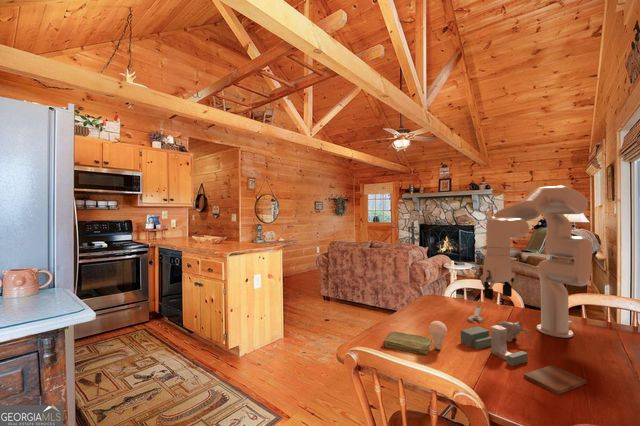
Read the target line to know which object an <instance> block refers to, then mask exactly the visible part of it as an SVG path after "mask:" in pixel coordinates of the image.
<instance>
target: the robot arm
mask: <svg viewBox="0 0 640 426" xmlns="http://www.w3.org/2000/svg"><path fill="white" fill-rule="evenodd" d="M588 206H589V201H588V199H587V197H586V195H584V194H583V193H581V192H580V191H578V190H576V189H574V188H572V187H569V186H566V185H556V186H555V185H553V186H541V187H537V188H535V189H533V190H532V191H531V192H530V193H529V194H527V196H526V197H525V198H523V199H522V200H521V201H520V202H517V203H515V204H512V205H510V206H507V207H503V208H502V209H499V210H497V211H496V212H495V213H494V214H492V216H490V217H489V219H488V220H487V221H486V224H485V230H486V254H485V256H484V261H483V267H482V274H481V275H480V277H479V280H480V283H481V285H482V288H484V293H483V294H484V295H483V296H484V299H487V300H491V301H493V300H494V288H493V286H494V285H495V284H500V283H503V284H502V295H503V296H505V297H508V298H511V297H512V295H513V294H512V291H513V289H512V287H513V283H514V281H515V277H516V273H515V272H513V269H512V267H513V266H512V262H511V261H512V260H511V259H512V258H511V238H516V239H519V238H523V237H525V236H527V234H528V233H529V231H530V227H529V226H530V225H529V223H528V221H532V220H535V219H537V218H539V217H540V216H541V215H543V217H544V220H545V222H546V236H545V244H544V250H545V251H544V252H545V253H546V254H547V255H548V256H550V257H557V258H564V259H572V260H573V261H567V260H560V259H553V258H552V259H550V258H548V259H543V260H541V261H540V262H539V263H538V265H537V272H538V276H539V277H538V278H539V282H540V284H539V285H540V324H537V325H536V330H537V331H539V333H542V334H544V335H547V336H551V337H555V338H563V339H565V338H567V339H568V338H572V337H573V336H574V332H573V331H572V330H571V329H569V327H571V326H573V325H574V323H573V321H571V320H569V291H568V290H567V288H566V287H565V285H570V286H576V287H584V286H587V285H588V284H589V282H590V279H591V272H592V262H593V248H594V247H593V244H592V242H591V240H590V239H588V237H584V236H575V235H574V236H573V235H572V228H573V227H572V222H571V221H570V220H569V218H567V217H566V215H581V214H584V213H585V212H587V210H588Z"/></svg>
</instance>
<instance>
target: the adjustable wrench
mask: <svg viewBox="0 0 640 426" xmlns="http://www.w3.org/2000/svg"><path fill="white" fill-rule="evenodd" d="M481 310H482V307H481V306H480V305H475V306H474V311H473V315H470V316H468V317H467V321H468V322H469V323H472V324H473V323H474V321H477V322H478V323H479V324H482V323H483V321H484V317H481V316H480V313H481Z"/></svg>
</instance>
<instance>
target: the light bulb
mask: <svg viewBox="0 0 640 426" xmlns="http://www.w3.org/2000/svg"><path fill="white" fill-rule="evenodd" d="M428 332H429V334H430V336H431V337H432V342H433V347H434V349H436V350H442V349H443V343H444V341H443V340H444V339H445V337H446V336H447V334H448V328H447V326H446V324H444V322H443V321H440V320H434V321H431V323H430V324H428Z"/></svg>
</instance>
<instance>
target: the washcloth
mask: <svg viewBox="0 0 640 426" xmlns="http://www.w3.org/2000/svg"><path fill="white" fill-rule="evenodd" d="M432 342H433V338H432V339H431V338H430V337H426V336H423V335H420V334H419V335H418V334H413V333H412V334H410V333H405V332H401V331H389V332H388V335H387V337H386V338H385V339H384V340H383V342H382V346H383V347H384V348H387V349H392V350H396V351H401V352H408V353H413V354H420V355H425V356H427V355H428V353H429V350H430V348H431V344H432Z"/></svg>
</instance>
